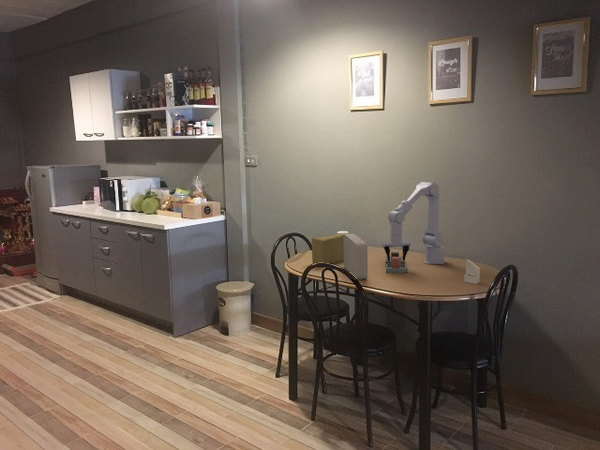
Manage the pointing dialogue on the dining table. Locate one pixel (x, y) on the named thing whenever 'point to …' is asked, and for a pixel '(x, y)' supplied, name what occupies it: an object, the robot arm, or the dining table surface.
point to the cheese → (328, 249)
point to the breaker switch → (394, 254)
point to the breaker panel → (390, 261)
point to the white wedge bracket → (472, 273)
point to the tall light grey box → (355, 256)
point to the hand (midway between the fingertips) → (396, 260)
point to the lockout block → (396, 262)
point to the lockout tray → (395, 270)
